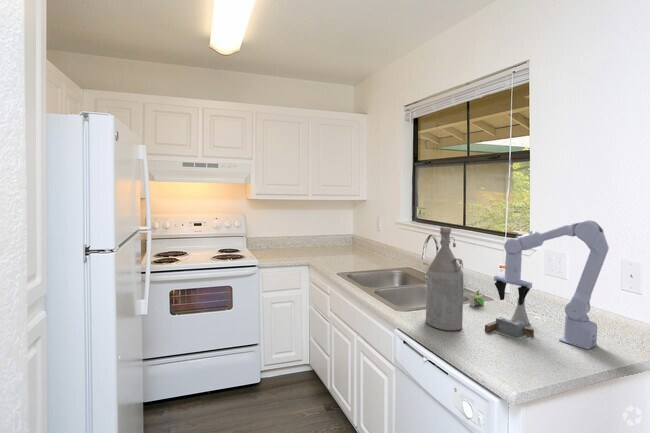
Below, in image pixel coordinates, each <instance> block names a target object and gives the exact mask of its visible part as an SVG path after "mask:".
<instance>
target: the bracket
mask: <svg viewBox="0 0 650 433" xmlns="http://www.w3.org/2000/svg"><path fill="white" fill-rule="evenodd" d="M495 321H496V330H495V331H497V332H500V333H503V334H506V335H509V336H512V337H515V338H519V337H522V336H524V331H525V327H526V325H525V322H521V321H516V322H514V321H511V319H507V318H504V317H500V316H499V317H496V318H495Z"/></svg>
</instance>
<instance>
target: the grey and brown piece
mask: <svg viewBox="0 0 650 433" xmlns="http://www.w3.org/2000/svg"><path fill="white" fill-rule="evenodd" d="M494 331H496V320H495V321H492V322H489V323H486V324H484V332H486V333H492V332H494ZM524 335H526V336H527V337H530V338H532V337H534V336H535V329H534V328H530V327H526V326H525V331H524Z"/></svg>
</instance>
